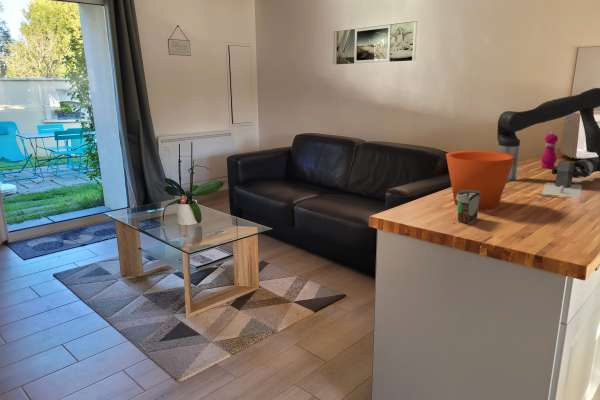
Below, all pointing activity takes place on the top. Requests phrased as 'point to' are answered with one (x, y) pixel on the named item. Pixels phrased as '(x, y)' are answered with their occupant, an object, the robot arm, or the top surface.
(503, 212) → the top surface
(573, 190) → the plate
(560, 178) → the charcoal link
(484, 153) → the flowerpot
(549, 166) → the pepper mill
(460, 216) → the food container
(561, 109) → the robot arm
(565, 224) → the top surface
